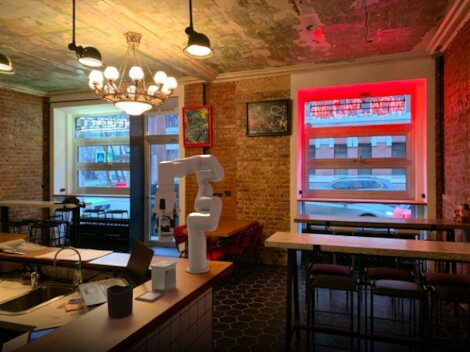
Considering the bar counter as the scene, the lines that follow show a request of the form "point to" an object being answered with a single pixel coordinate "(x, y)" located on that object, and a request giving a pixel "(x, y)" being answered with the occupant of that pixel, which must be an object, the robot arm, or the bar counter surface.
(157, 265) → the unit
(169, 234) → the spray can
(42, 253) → the bar counter surface
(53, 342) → the bar counter surface
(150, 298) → the pad
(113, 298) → the pen holder
